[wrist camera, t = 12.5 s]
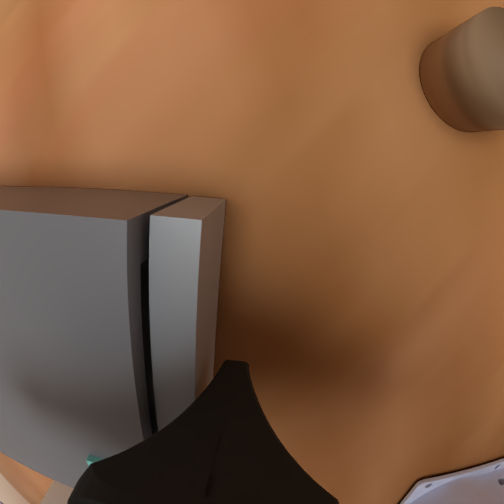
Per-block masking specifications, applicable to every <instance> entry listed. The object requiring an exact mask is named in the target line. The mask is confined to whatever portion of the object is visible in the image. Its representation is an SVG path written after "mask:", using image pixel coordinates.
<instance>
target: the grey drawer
mask: <svg viewBox="0 0 504 504" xmlns="http://www.w3.org/2000/svg"><path fill="white" fill-rule="evenodd" d="M225 207H226V199H220V198H209V197H198V196H191V197H189V198H186V199H184V200H182V201H180V202H177V203H175V204H173V205H171V206H169V207H167V208H164V209H162V210H160V211H158V212H156V213H154V214H151V215H150V233H149V258H148V259H147V260H146V261H144V262H143V263H142V264H141V265H140V279H141V315H142V335H143V351H144V364H145V376H146V386H147V396H148V405H149V413H150V421H151V429H152V435H154V434H155V433H157V432H158V431H160V430H161V429H162V428H164V427H165V426H167V425H168V424H169V423H171V422H172V421H173V420H174V419H176V418H177V417H178V416H179V415H180V414H181V413H183V412H184V411H185V410H186V409H187V408H188V407H189V406H190V405H191V404H192V403H193V402H194V401H195V400H196V399H197V398H198V397H199V396H200V394H201V393H202V392H203V391H204V390H205V389H206V387H207V386H208V385H209V384H210V382H211V381H212V380H213V371H214V354H215V337H216V322H217V307H218V293H219V279H220V266H221V254H222V241H223V230H224V218H225Z"/></svg>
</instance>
